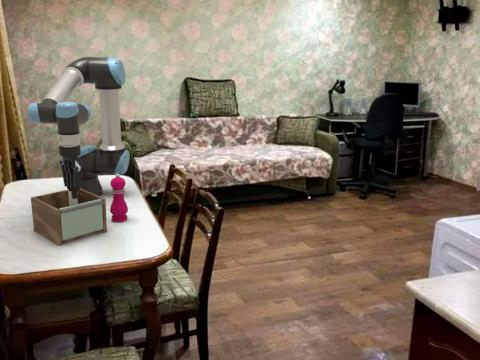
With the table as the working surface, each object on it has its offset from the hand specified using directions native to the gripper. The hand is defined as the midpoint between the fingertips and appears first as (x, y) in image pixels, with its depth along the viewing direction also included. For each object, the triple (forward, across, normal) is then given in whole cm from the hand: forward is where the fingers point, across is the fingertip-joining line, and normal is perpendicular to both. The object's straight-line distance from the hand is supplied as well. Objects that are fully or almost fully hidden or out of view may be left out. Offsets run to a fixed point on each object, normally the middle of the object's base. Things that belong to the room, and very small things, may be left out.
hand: (73, 205), depth 185 cm
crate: (+11, -4, 0) cm, 12 cm away
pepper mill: (+12, -2, +21) cm, 24 cm away
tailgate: (+10, +5, 0) cm, 11 cm away
